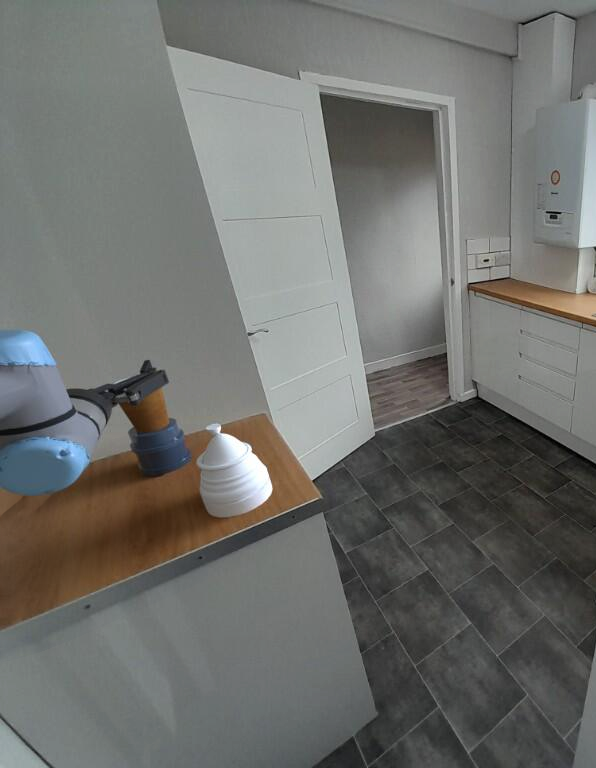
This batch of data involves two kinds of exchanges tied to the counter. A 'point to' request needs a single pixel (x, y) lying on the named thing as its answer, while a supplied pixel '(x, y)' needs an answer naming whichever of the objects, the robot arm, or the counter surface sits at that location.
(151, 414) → the disposable coffee cup
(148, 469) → the cup stack
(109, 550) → the counter surface
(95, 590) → the counter surface
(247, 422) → the counter surface
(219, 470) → the honey pot
